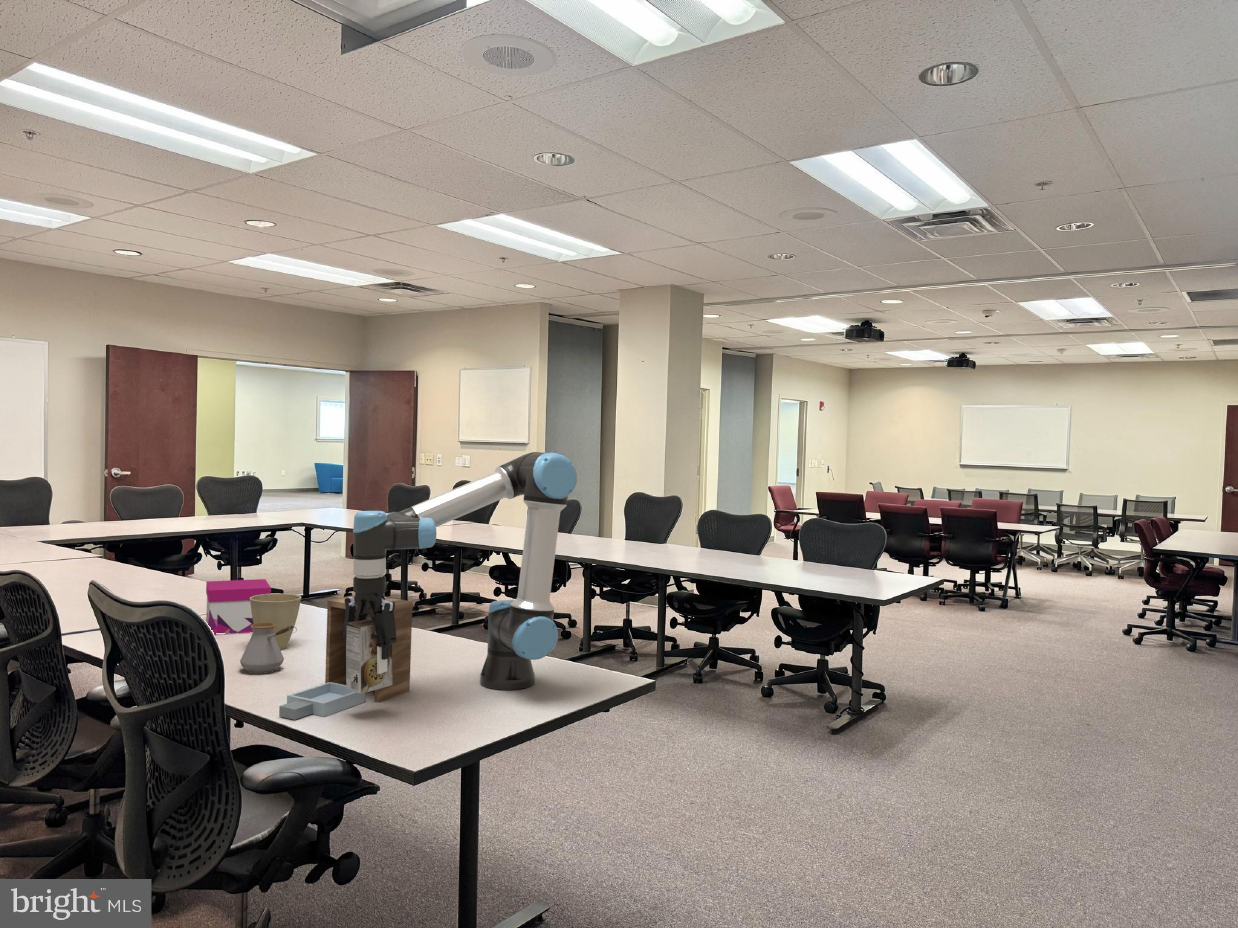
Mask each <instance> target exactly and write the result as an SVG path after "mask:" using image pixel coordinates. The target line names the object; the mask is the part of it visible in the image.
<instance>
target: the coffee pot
mask: <svg viewBox="0 0 1238 928" xmlns="http://www.w3.org/2000/svg"><path fill="white" fill-rule="evenodd" d="M274 627H275V624H273V623H257V624H253V625H251V628H252V630H253V633H251V637H250V639H249V641H248V643H247V645H246V647H245V650H244V652H243V654H242V655H241V658H240V660H239V663H240V665H241V667H242V668H243V669H244V670H246V671H247V673H249V674H261V675H262V674H268V673H269V674H270V673H273V672H276V671H277V669H278V668H280V666H281V665H282V664H283V662H284V660H285V658H284V656H283V655H284V654H283V653H282V650H280V648H279V646H278V643H277V641H276V639H275V636H276V635H280V634H283V633H285V632H287V631H289V632H290V630H291V629H292V628H293V627H294V629H295V631H293V634H295V633H296V632H297V630H298V629H297V627H295V626H290V627H289V626H288V627H287V628H283V629H281V630H280V631H278V632H276V633H274V634H273V628H274ZM290 633H291V632H290ZM272 671H273V672H272Z"/></svg>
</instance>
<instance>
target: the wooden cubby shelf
mask: <svg viewBox="0 0 1238 928" xmlns="http://www.w3.org/2000/svg"><path fill="white" fill-rule="evenodd" d="M354 596H355V594H354V595H353V594H352V595H348V596H343V597H339V598H334V599H333V598H332V599H328V600H327V603H326V604H327V609H326V612H327V613H326V643H325V646H326V647H325V671H324V672H325V678H324V680H325V681H324V682H325V683H328V682H332V683H337V684H342V685H346V638H343V629H344V619H345V610H346V607H345V599H346V598H349V597H354ZM385 600H386V601H388V602H395V608H394V618H395V628H396V638H397V641H396V643H393V644H392V685H391V686H387V687H384V688H380V689H376V690H374V702H375V703H380V702H383V701H386V700H390V699H392V698H394V697H397V696H400V695H402V694H405V693H409V692H410V691H411V661H412V660H411V659H412V656H411V655H412V631H413V630H412V628H413V625H412V623H413V601H411V600H405V599H398V598H392V597H391V598H390V597H387V598H385ZM382 608H383V607H382ZM356 609H357V605H356ZM378 614H379V613H378ZM378 614H376V615H378ZM368 618H371V617H370V615H367V616H366V619H368ZM325 683H324V684H325Z"/></svg>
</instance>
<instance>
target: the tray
mask: <svg viewBox="0 0 1238 928" xmlns="http://www.w3.org/2000/svg"><path fill="white" fill-rule="evenodd" d="M365 702H366V693H362V694H360V693H357V692H354V691H351V690H349V689H347V688H346V685H342V684H337V683H332V682H328V683H323V684H319V685H315V686H313V687H309V688H306V689H304V690H300V691H297V692H294V693H291V694H287V695H286V704H282V705H279V706H278V707H279V708H278V709H279V710H278V714H279V715H278V716H279V718H280V717H282V718H285V719H289V720H294V721H296V720H299V719H301V718H304V717H307V716H310V715H312V716H313V715H315V716H318V717H323V718H325V717H327V716H329V715H333V714H335V713H338V712H341V711H343V710H344V711H345V710H346V709H349V708H352V707H355V706H357V705H361V704H363V703H365Z"/></svg>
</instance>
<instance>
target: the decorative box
mask: <svg viewBox="0 0 1238 928" xmlns="http://www.w3.org/2000/svg"><path fill="white" fill-rule="evenodd" d="M205 587H206V589H205V594H206V621H207V623H208V625H209V626H210V627H211V630H213V632H214V634H215V635H214V636H217V635H216V633H239V634H248V633H249V634H251V633H250V632H253V630H252V628H251V625H253V624H254V623H253V618H252V612H251V604H250V597H252V596H256V595H262V594H272V587H271V584H269V582H268V581H267V580H266V579H265V578H262V579H261V578H260V579H238V580H237V579H236V580H235V579H234V580H210V581H209V580H208V581H206V586H205ZM206 621H205V622H206Z"/></svg>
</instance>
